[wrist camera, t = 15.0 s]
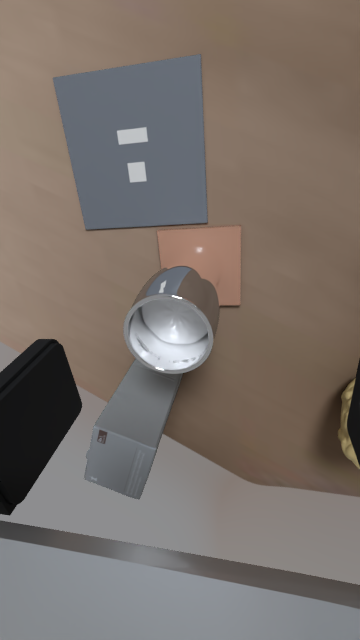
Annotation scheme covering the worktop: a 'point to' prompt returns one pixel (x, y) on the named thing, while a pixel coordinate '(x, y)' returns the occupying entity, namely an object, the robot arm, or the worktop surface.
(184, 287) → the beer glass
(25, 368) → the robot arm
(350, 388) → the sculpture
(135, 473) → the skincare box
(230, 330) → the worktop surface
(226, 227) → the coaster
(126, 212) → the blue-grey tile
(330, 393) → the worktop surface
